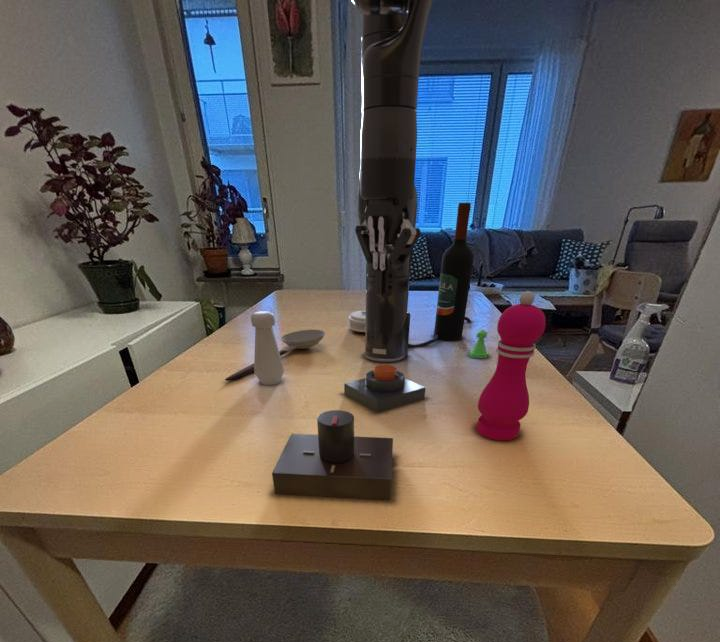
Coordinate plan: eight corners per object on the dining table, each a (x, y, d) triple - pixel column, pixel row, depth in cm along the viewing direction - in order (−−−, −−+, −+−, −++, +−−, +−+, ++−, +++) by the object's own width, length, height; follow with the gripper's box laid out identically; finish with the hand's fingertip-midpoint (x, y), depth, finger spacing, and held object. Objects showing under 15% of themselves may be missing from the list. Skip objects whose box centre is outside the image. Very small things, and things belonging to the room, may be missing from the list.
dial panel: (391, 456, 55) (393, 436, 53) (390, 500, 47) (391, 478, 45) (293, 452, 56) (291, 432, 54) (274, 493, 48) (271, 471, 46)
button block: (390, 382, 79) (391, 362, 76) (424, 398, 72) (426, 377, 70) (344, 394, 73) (343, 373, 71) (376, 413, 67) (377, 390, 64)
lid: (398, 327, 116) (399, 309, 113) (382, 338, 106) (383, 318, 104) (359, 323, 120) (359, 305, 117) (340, 332, 111) (340, 313, 108)
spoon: (334, 342, 100) (333, 330, 98) (248, 391, 76) (244, 376, 75) (299, 340, 105) (297, 329, 103) (208, 386, 81) (204, 371, 80)
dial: (321, 445, 51) (318, 407, 48) (354, 445, 51) (354, 407, 48) (317, 462, 48) (314, 423, 45) (353, 463, 48) (353, 423, 45)
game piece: (491, 356, 93) (496, 330, 90) (479, 359, 91) (483, 332, 88) (477, 352, 96) (481, 326, 93) (465, 355, 94) (469, 328, 91)
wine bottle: (464, 341, 104) (485, 202, 87) (435, 340, 104) (451, 202, 87) (458, 333, 110) (477, 203, 93) (431, 333, 110) (445, 203, 94)
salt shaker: (278, 387, 76) (270, 316, 69) (251, 385, 77) (240, 315, 70) (289, 377, 81) (282, 309, 73) (263, 375, 82) (253, 308, 74)
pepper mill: (514, 447, 57) (553, 298, 46) (466, 434, 61) (492, 292, 49) (526, 428, 62) (563, 289, 51) (481, 417, 66) (507, 285, 54)
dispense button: (386, 372, 73) (387, 363, 72) (400, 378, 70) (401, 369, 69) (369, 376, 71) (369, 367, 70) (382, 383, 68) (383, 373, 67)
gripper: (443, 154, 51) (429, 299, 61) (379, 161, 59) (377, 287, 69) (398, 150, 47) (392, 306, 57) (338, 159, 56) (341, 292, 66)
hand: (383, 295), depth 63 cm, fingers closed
